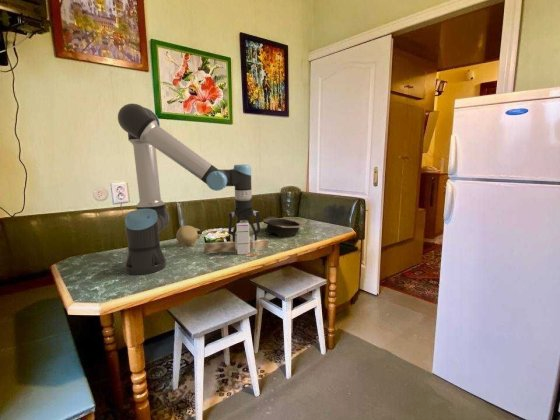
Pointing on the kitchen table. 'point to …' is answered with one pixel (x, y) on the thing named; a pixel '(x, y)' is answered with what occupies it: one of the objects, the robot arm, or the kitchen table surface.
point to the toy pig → (188, 235)
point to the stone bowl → (282, 226)
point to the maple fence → (233, 247)
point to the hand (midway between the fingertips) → (245, 247)
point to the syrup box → (243, 237)
